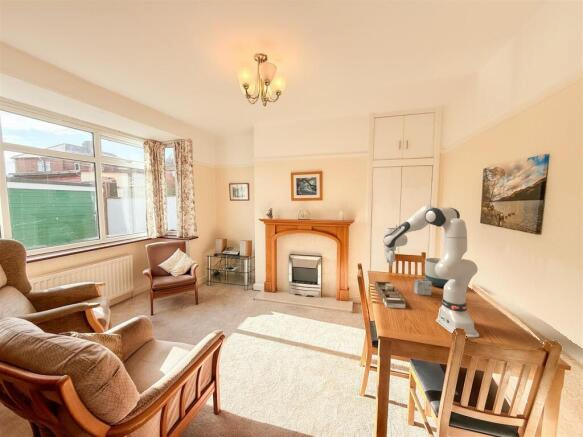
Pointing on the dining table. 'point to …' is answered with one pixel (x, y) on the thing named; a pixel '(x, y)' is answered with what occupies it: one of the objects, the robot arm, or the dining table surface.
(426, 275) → the planter
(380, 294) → the trap channel
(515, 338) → the dining table surface
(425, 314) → the dining table surface
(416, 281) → the light bulb box
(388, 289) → the birch block
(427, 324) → the dining table surface
